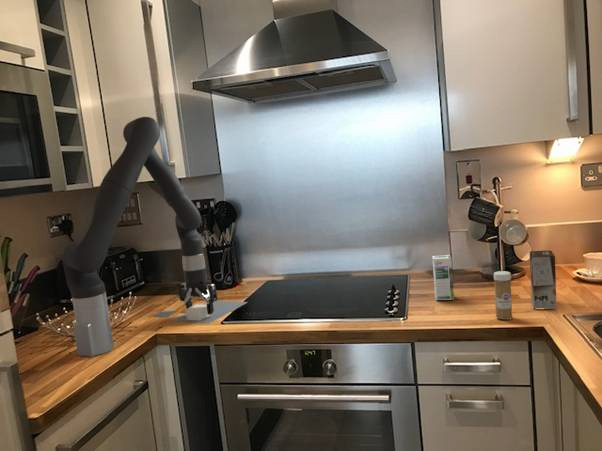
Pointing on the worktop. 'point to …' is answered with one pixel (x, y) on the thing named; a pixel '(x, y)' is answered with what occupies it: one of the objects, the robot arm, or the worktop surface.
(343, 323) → the worktop surface
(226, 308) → the mat
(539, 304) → the coffee box
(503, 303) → the sprinkles bottle
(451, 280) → the syrup box
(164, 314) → the smartphone
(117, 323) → the worktop surface
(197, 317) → the card box
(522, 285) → the worktop surface
